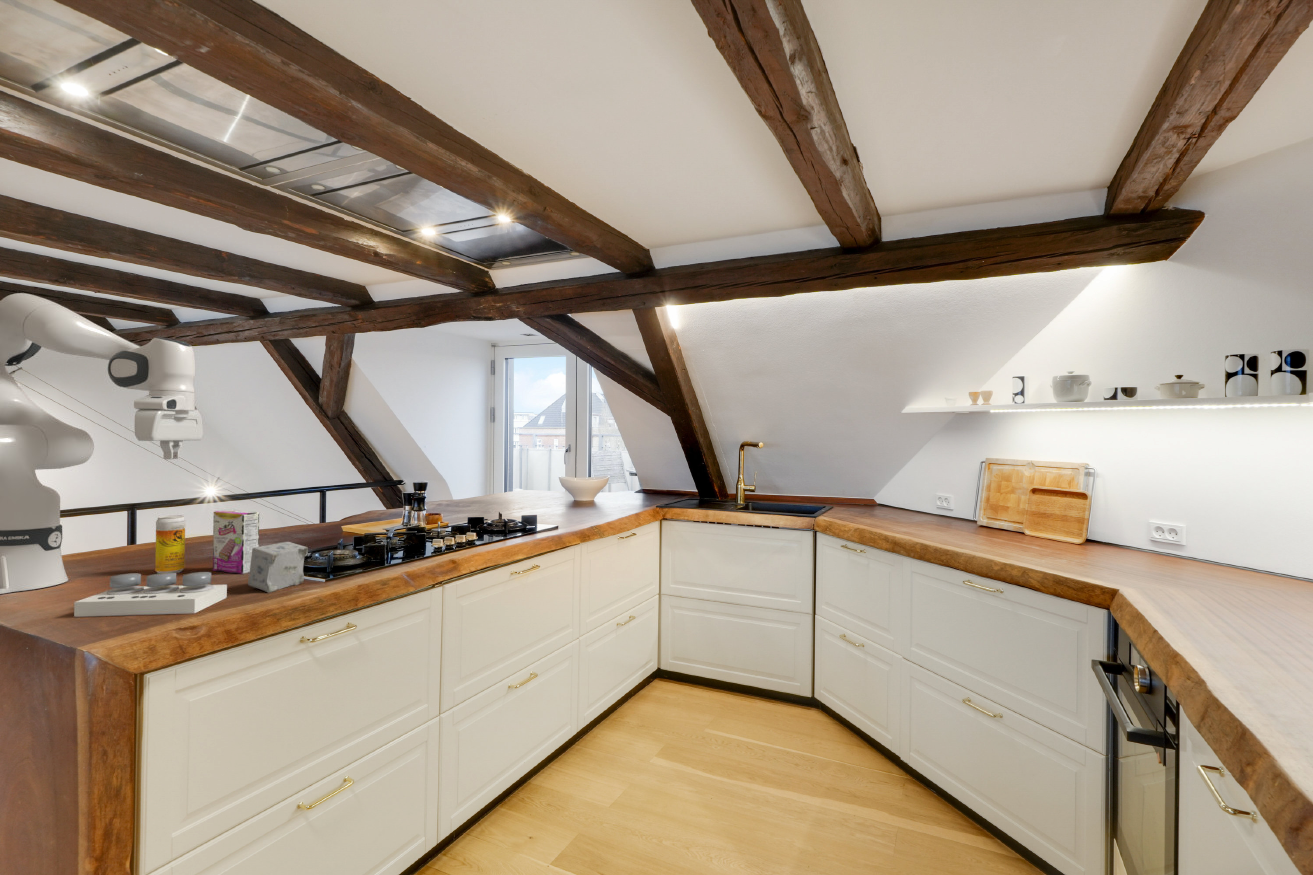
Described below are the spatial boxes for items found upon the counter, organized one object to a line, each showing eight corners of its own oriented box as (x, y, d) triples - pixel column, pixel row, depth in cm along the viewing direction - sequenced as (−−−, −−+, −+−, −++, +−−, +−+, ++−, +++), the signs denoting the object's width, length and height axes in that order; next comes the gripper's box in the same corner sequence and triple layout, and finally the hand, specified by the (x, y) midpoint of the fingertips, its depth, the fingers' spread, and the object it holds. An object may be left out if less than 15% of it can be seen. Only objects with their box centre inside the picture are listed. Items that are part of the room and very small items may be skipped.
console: (74, 616, 119) (74, 600, 119) (118, 600, 131) (118, 585, 131) (194, 613, 123) (194, 597, 123) (226, 597, 135) (226, 582, 135)
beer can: (167, 575, 154) (168, 518, 154) (149, 573, 155) (150, 517, 155) (190, 570, 160) (191, 515, 160) (172, 568, 161) (173, 514, 161)
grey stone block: (271, 593, 139) (272, 550, 139) (246, 590, 141) (247, 547, 141) (308, 584, 148) (309, 543, 148) (284, 580, 151) (285, 540, 151)
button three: (140, 587, 126) (140, 578, 126) (156, 581, 131) (156, 572, 131) (166, 586, 127) (166, 577, 127) (181, 581, 132) (181, 572, 132)
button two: (103, 588, 125) (103, 579, 125) (121, 582, 130) (121, 573, 130) (130, 587, 126) (130, 578, 126) (146, 582, 131) (146, 573, 131)
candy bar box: (211, 571, 159) (212, 511, 159) (229, 567, 164) (230, 509, 164) (242, 574, 156) (243, 513, 156) (259, 570, 161) (260, 511, 161)
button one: (177, 586, 127) (177, 577, 127) (191, 581, 132) (191, 572, 132) (202, 586, 128) (202, 576, 128) (215, 580, 133) (216, 571, 133)
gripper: (184, 405, 155) (183, 457, 155) (128, 400, 135) (127, 460, 135) (210, 406, 156) (210, 457, 156) (159, 401, 136) (158, 461, 136)
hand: (171, 459), depth 145 cm, fingers closed
